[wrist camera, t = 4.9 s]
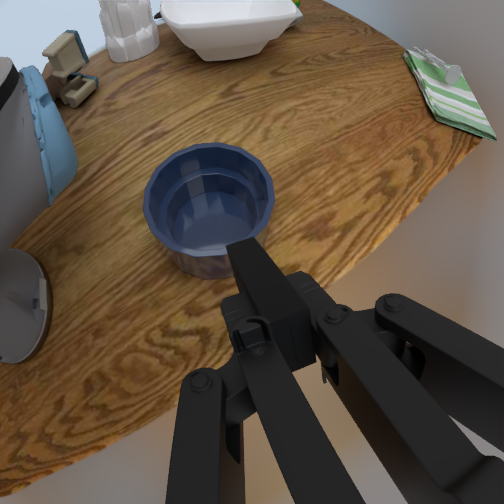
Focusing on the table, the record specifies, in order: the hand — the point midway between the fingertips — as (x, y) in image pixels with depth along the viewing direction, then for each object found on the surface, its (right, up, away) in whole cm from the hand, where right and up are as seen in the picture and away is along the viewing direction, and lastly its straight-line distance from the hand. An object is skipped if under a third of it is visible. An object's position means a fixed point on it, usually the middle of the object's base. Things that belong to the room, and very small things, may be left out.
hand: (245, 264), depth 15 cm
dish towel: (+42, +35, +31) cm, 63 cm away
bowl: (-5, +39, +31) cm, 50 cm away
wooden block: (-33, +28, +19) cm, 47 cm away
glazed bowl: (-4, +3, +19) cm, 19 cm away
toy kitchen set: (-37, +31, +20) cm, 52 cm away
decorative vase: (-24, +43, +32) cm, 58 cm away
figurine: (+42, +37, +27) cm, 63 cm away
